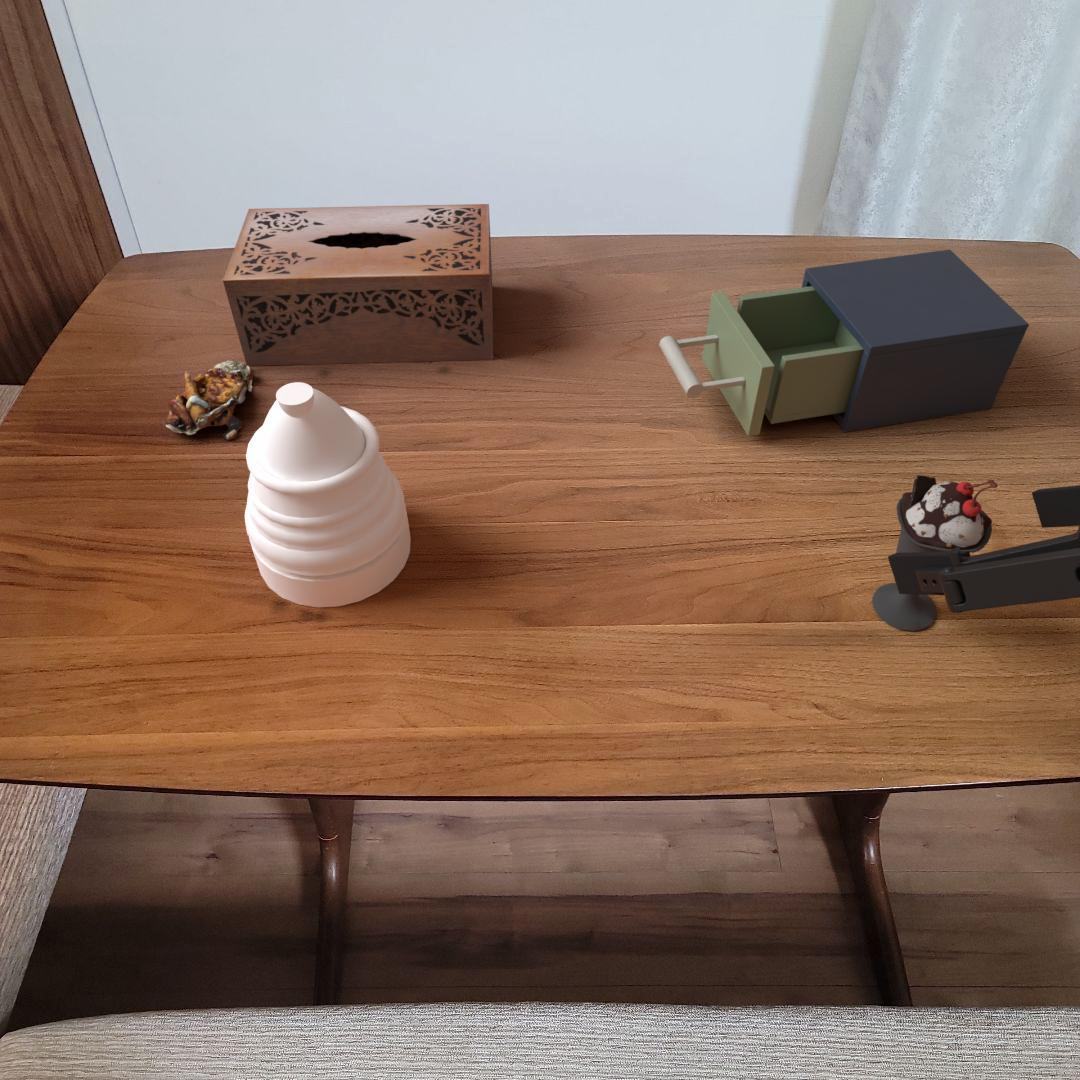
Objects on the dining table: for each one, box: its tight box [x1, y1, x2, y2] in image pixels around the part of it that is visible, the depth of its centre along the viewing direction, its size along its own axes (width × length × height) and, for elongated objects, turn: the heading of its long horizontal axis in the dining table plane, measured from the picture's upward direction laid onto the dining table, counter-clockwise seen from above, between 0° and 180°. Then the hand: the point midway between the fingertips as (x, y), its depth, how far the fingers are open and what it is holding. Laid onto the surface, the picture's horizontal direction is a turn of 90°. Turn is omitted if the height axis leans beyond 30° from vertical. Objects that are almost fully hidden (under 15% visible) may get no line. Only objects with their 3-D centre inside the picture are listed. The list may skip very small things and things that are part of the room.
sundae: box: [872, 474, 998, 632], centre depth 69 cm, size 7×7×15 cm
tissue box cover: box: [222, 203, 494, 367], centre depth 98 cm, size 26×14×10 cm, turn 92°
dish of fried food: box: [165, 360, 254, 441], centre depth 91 cm, size 7×12×4 cm, turn 1°
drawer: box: [659, 286, 864, 437], centre depth 89 cm, size 20×13×8 cm, turn 103°
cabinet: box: [801, 249, 1030, 433], centre depth 92 cm, size 16×14×10 cm
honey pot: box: [244, 381, 412, 608], centre depth 72 cm, size 13×13×18 cm
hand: (970, 539), depth 65 cm, fingers open, 13 cm apart
